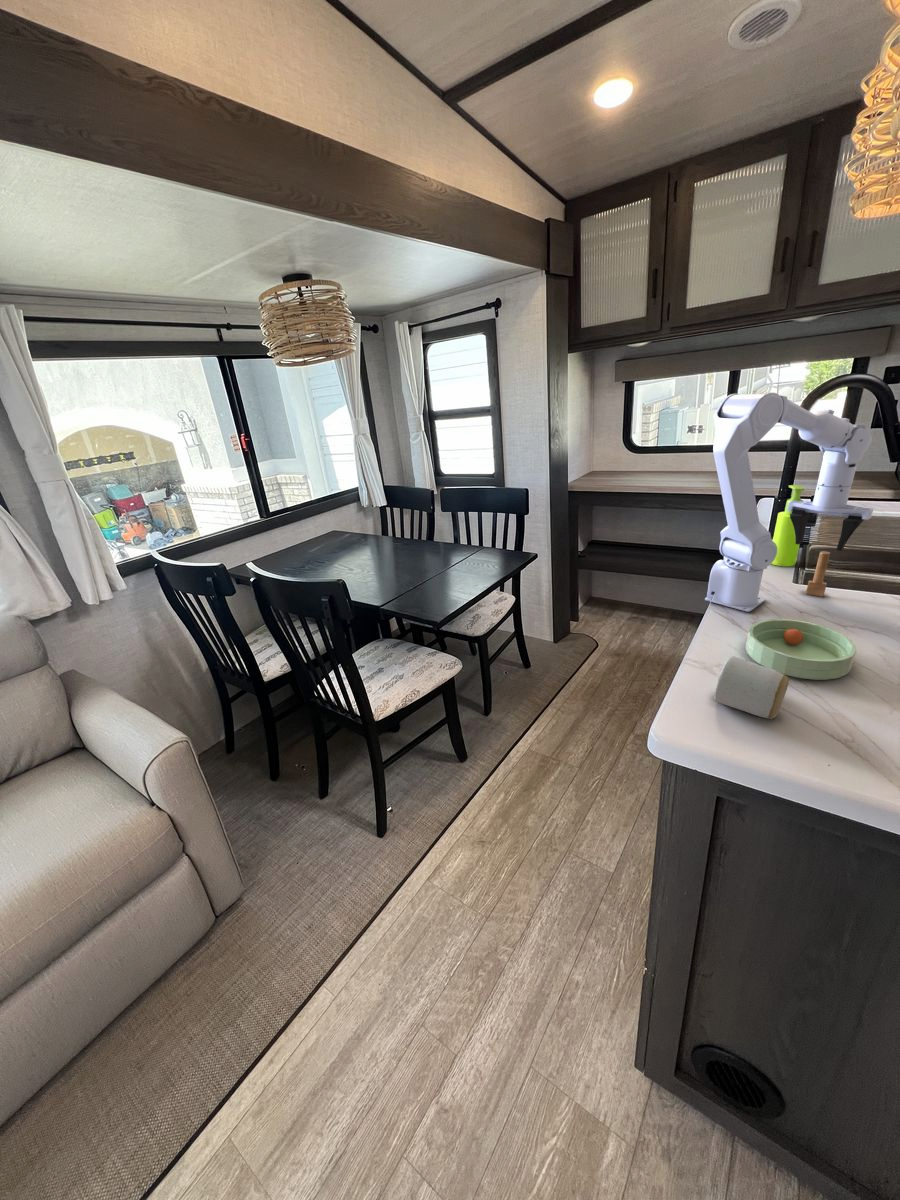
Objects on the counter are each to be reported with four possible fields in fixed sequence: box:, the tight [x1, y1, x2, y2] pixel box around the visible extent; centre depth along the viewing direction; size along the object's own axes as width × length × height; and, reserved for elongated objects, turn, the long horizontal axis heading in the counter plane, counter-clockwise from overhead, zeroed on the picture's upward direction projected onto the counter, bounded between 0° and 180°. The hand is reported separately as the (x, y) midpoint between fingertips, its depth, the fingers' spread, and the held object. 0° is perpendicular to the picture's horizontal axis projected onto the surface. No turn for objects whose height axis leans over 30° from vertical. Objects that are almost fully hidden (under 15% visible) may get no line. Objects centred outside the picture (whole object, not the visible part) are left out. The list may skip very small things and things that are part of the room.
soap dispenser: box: [770, 484, 805, 567], centre depth 120 cm, size 6×7×20 cm
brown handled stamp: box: [805, 550, 831, 598], centre depth 103 cm, size 3×2×10 cm, turn 53°
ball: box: [783, 629, 804, 645], centre depth 86 cm, size 3×3×3 cm
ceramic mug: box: [713, 655, 790, 720], centre depth 71 cm, size 11×8×8 cm
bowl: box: [745, 618, 857, 681], centre depth 82 cm, size 15×15×4 cm
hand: (818, 546), depth 104 cm, fingers open, 7 cm apart
